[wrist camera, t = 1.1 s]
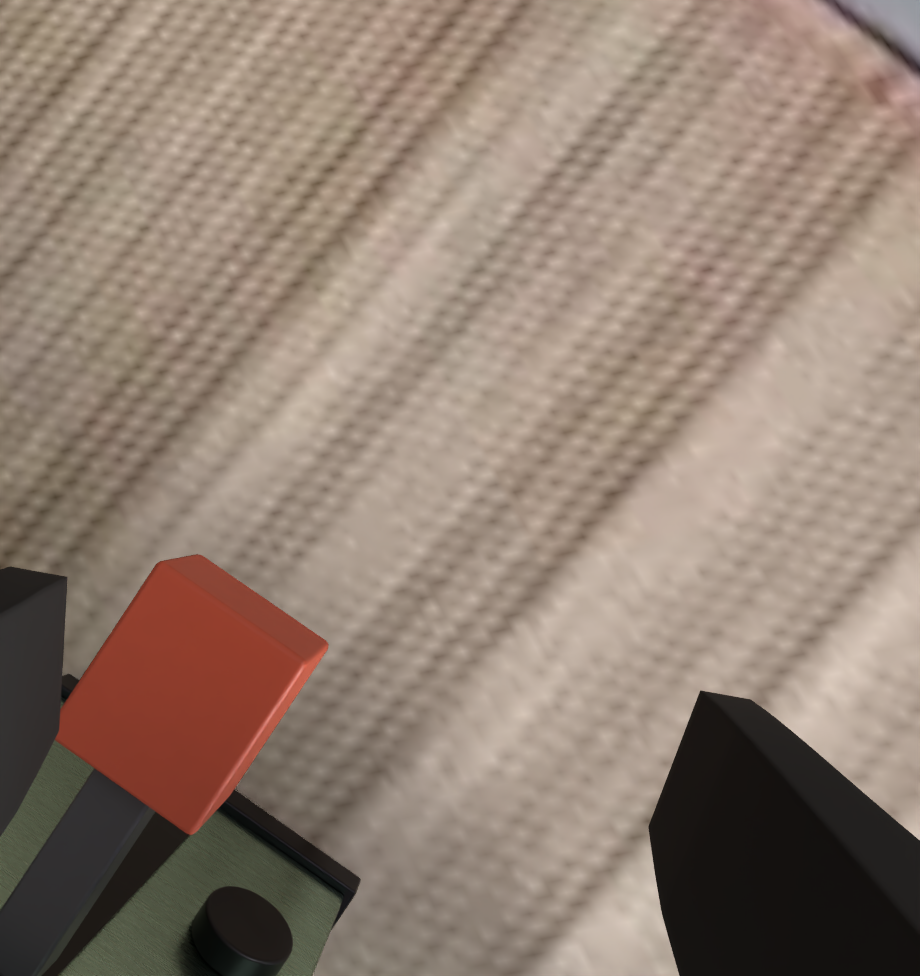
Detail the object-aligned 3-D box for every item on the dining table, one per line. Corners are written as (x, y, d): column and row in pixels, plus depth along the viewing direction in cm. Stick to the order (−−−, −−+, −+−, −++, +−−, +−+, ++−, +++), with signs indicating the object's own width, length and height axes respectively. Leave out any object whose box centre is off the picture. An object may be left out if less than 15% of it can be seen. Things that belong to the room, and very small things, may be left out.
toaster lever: (198, 551, 13) (156, 558, 12) (332, 642, 13) (308, 663, 12) (-22, 884, 13) (-93, 936, 12) (108, 978, 13) (54, 1043, 12)
